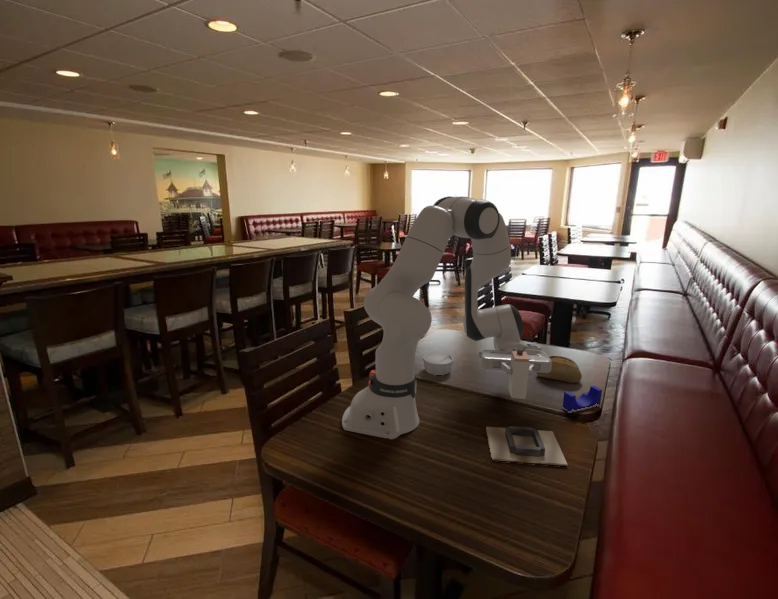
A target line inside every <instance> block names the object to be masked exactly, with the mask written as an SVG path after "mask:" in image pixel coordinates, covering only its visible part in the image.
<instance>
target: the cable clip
mask: <svg viewBox="0 0 778 599" xmlns="http://www.w3.org/2000/svg"><path fill="white" fill-rule="evenodd" d="M602 392H603V389H602V388H599V387H598V386H597V385H592V386H591V385H590V387H589V391H588V392H583V393H582V394H581V395H579V396H578V397H577V396H576V395H575V394H574V393H572V392H571V391H568V390H567V391H564V392H563V399H562V406H561V408H562V407H564V408H565V409H567V410H568V411H571V410H572V409H574V410H577V409H581V408H585V407H590V406H593V405H595V404H596V403H597V404H599V405H601V400H602V399H601V398H602Z"/></svg>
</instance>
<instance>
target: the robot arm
mask: <svg viewBox="0 0 778 599" xmlns="http://www.w3.org/2000/svg"><path fill="white" fill-rule="evenodd" d="M506 225H507V224H506V222H505V220H504V217H503V215H502V214H501V213H500V212H499V210H498V208H497V206H496V204H494V203H493V202H491V201H490V200H487V199H482V198H479V199H478V198H473V197H469V196H444V197H441V198H439V199H437V201H436V202H434V203H433V205H428V206H425V207H424V208H422V209H421V211H420V212H419V214H418V215H417V216H416V218H415V219H414V221H413V223H412V225H411V227H410V228H409V230H408V232H407V235H406V237H405V240H404V241H403V243H402V245H401V248H400V250H399V251H398V255H397V257H396V258H395V261H394V262H393V264H392V265H391V267H390V269H389V270H388V272H387V273H386V274H385V275H384V277H383V278H382V279H381V280H380V281H379V283H378V284H377V285H375V286H373V288H372V287H371V289H370V290H368V291H367V293H366V294H365V296H364V299H363V307H364V310H365V312H366V313H367V315H368V317H369V318H370V319H371V321H373V322H375V323H376V324H378V326H381V327H382V330H383V337H382V340H381V344H380V345H379V346H378V347H377V348H376V350H375V369H372V370H371V371H370V372H369V374H368V386H366V387H365V388H363V389H362V390H359V391H358V392H357V393H356V394H355V395H354V396H353V398H352V400H351V402H350V405H349V406H348V407H347V408H346V409H345V411H344V412H343V414H342V417H341V426H342V429H343V430H344V431H349V432H353V433H358V434H363V435H367V436H373V437H377V438H383V439H387V438H388V439H387V440H395V439H398V437H399V436H401V435H404V434H407V433H410V432H411V431H414V430H415V429H416V428H418V426H419V425H420V417H419V415H418V409H417V404H416V395H417V376H416V374H415V372H416V370H415V369H416V368H415V366H416V354H417V349H418V345H419V341H420V340H421V338H423V337H424V336H425V335H426V334H427V333H428V331H429V330H430V328H431V325H432V314H431V311H430V309H429V308H428V307H427V306H426V305H425V304H424V303H423V302H422V301H421V300H420V299H418V298H417V297H415V296H414V295H415V294H416V293H417V292H418V291H419V290H420V289H421V287H423V286H424V285H426V284H428V283H429V282H431V281H432V279H433V278H434V277H435V273H436V271H437V269H438V267H439V264H440V262H441V260H442V259H443V255H444V254H445V251H446V249H447V246H448V244H449V240H450V239H451V238H452V237H453V236H456V237H457V238H465V239H470V240H471V248H472V261H471V263H470V265H468V267H466V269H465V275H464V317H463V331H464V333H465V335H466V337H467V338H469V339H470V340H472V341H474V342H477V341H478V342H479V341H481V340H482V341H483V340H486V339H487V338H488V339H489V338H493V348H494V349H484V350H483V351H480V352H478V358H480V368H482V369H483V370H496V371H502V372H505V374H506V375H509V374H512V367H510V363H511V353H512V351H517V349H522V350H523V352H526V353H527V355H528V357H529V358H530V364H529V374H528V377H529V376H530V377H532V376H533V373H536V372H541V373H549V372H551V368H552V361H551V359H550V356H549V355H548V354H547V353H546V352H545V351H544V350H542V349H543V348H542V347H541V346H540V345H537V344H531V343H527V342H524V341H521V338H522V336H523V334H524V322H523V319H522V316H521V313H520V312H519V310H518V308H516V306H514V305H512V304H510V303H509V304H503V305H502V304H501V305H496V306H492V307H486V308H483V309H478V297H479V296H478V295H479V294H478V293H479V290H480V289H481V288H482V287H483V286H484V285H485V284H486V283H488V282H489V281H491V280H493V279H495V278H496V277H499V276H500V275H501V274H502V273H503V272H505V271H506V269H507V268H508V267H509V265H510V263H511V259H512V258H511V257H512V250H511V242H510V237H509V231H508V229H507V226H506Z"/></svg>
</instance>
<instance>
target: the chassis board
mask: <svg viewBox="0 0 778 599" xmlns="http://www.w3.org/2000/svg"><path fill="white" fill-rule="evenodd" d="M485 431H486V436H487V437H488V438H487V442H488V448H490V449H489V453H491V454H490V459H491V458H492V460H499V461H518V462H528V463H529V462H530V463H541V464H551V465H552V464H553V465H566V466H567V467H568V465H569V464H568V463H567V460H566V458H565V456H564V453H563V451H562V450H561V447H560V444H559V443H558V440H557V438H556V436H555V434H554V431H552V430H541V429H540V430H538V429H537V428H533V427H529V426H517V425H516V426H513V425H509V426H505V427H496V426H495V427H494V426H486V427H485ZM492 460H491V461H492Z"/></svg>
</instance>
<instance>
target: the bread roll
mask: <svg viewBox="0 0 778 599" xmlns="http://www.w3.org/2000/svg"><path fill="white" fill-rule="evenodd" d="M549 357H550V359H551V361H552V368H551V372H549V373H541V372H535V373H536V375H537V376H539V377H541V378H546V379H550V380H554V381H555V380H556V381H561V382H566V383H570V384H577V383H580V381H581V380H582V373H581V370H580V368H579V366H578V364H577V363H576V362H575V361H574V360H572V359H570V358H569V357H566V356H559V355H551V356H549Z"/></svg>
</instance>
